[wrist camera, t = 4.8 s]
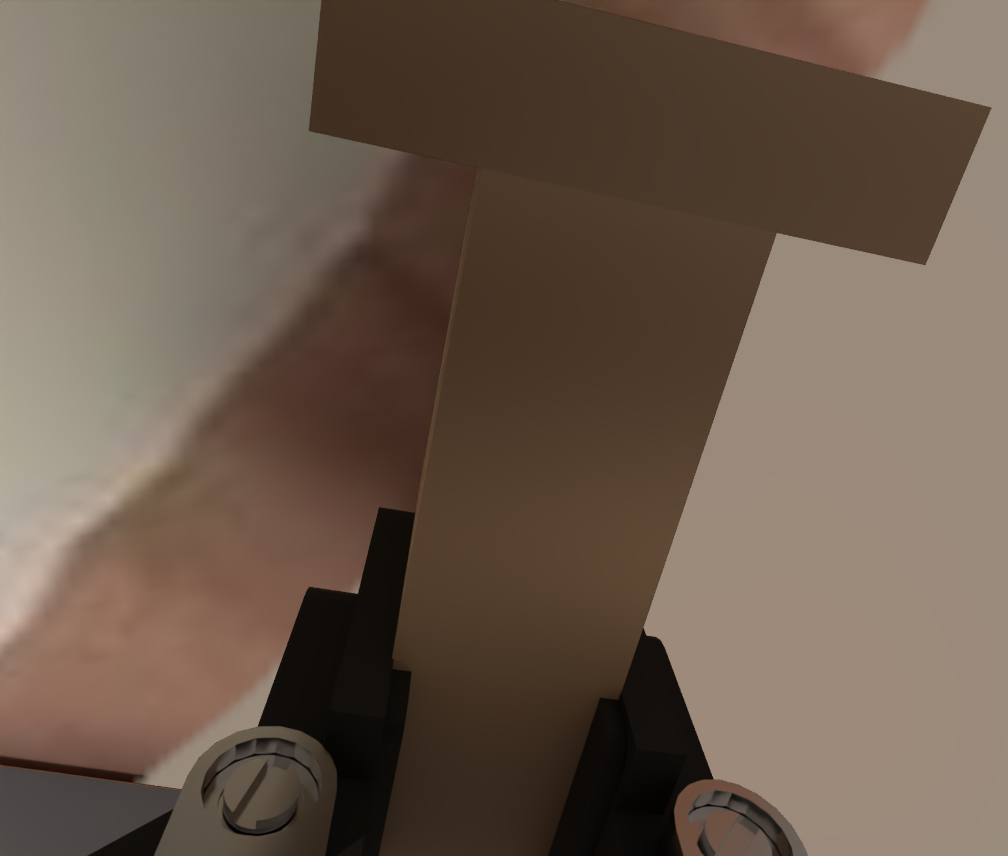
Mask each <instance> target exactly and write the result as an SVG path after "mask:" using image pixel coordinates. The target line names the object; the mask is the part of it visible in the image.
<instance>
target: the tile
mask: <svg viewBox="0 0 1008 856" xmlns="http://www.w3.org/2000/svg"><path fill="white" fill-rule="evenodd" d="M181 790H182V789H176V788H169V787H161V786H154V785H147V784H139V783H131V782H124V781H117V780H109V779H102V778H95V777H87V776H80V775H72V774H65V773H58V772H50V771H43V770H35V769H28V768H21V767H13V766H6V765H0V856H88V855H89V854H91V853H93V852H95V851H97V850H99V849H100V848H102V847H104V846H106V845H108V844H110V843H111V842H113V841H115V840H117V839H119V838H121V837H122V836H124V835H126V834H128V833H130V832H132V831H133V830H135V829H137V828H139V827H141V826H143V825H144V824H146V823H148V822H150V821H152V820H154V819H155V818H157V817H159V816H161V815H163V814H165V813H166V812H168V811H170V810H172V809H174V807H175V805H176V802H177V800H178V798H179V795H180V793H181Z"/></svg>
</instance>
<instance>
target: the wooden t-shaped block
mask: <svg viewBox="0 0 1008 856" xmlns="http://www.w3.org/2000/svg"><path fill="white" fill-rule="evenodd" d="M990 110H991V108H990V107H986V106H983V105H979V104H974V103H971V102H967V101H963V100H958V99H954V98H950V97H946V96H942V95H938V94H934V93H930V92H926V91H922V90H918V89H914V88H910V87H906V86H902V85H898V84H894V83H890V82H886V81H881V80H878V79H874V78H870V77H866V76H862V75H857V74H853V73H849V72H845V71H841V70H837V69H833V68H829V67H825V66H821V65H817V64H813V63H809V62H805V61H801V60H797V59H793V58H789V57H785V56H781V55H777V54H773V53H769V52H765V51H761V50H756V49H752V48H748V47H744V46H740V45H736V44H732V43H728V42H724V41H720V40H716V39H712V38H708V37H704V36H700V35H696V34H692V33H688V32H684V31H680V30H676V29H672V28H668V27H664V26H659V25H655V24H651V23H647V22H643V21H639V20H635V19H631V18H627V17H623V16H619V15H615V14H611V13H607V12H603V11H599V10H595V9H591V8H587V7H583V6H579V5H575V4H571V3H567V2H563V1H558V0H322V1H321V12H320V22H319V32H318V43H317V53H316V64H315V74H314V85H313V95H312V105H311V116H310V126H309V131H311V132H316V133H321V134H325V135H330V136H334V137H339V138H344V139H348V140H353V141H357V142H362V143H367V144H371V145H376V146H380V147H385V148H390V149H394V150H399V151H403V152H408V153H413V154H417V155H422V156H426V157H431V158H436V159H440V160H445V161H449V162H454V163H458V164H463V165H468V166H472V167H477V169H476V175H475V180H474V186H473V192H472V197H471V203H470V208H469V214H468V219H467V225H466V230H465V236H464V241H463V247H462V253H461V258H460V264H459V269H458V275H457V280H456V286H455V291H454V297H453V303H452V308H451V314H450V319H449V325H448V330H447V336H446V341H445V347H444V352H443V358H442V364H441V369H440V375H439V380H438V386H437V391H436V397H435V402H434V408H433V414H432V419H431V425H430V430H429V436H428V441H427V447H426V452H425V458H424V463H423V469H422V475H421V480H420V486H419V491H418V497H417V502H416V508H415V518H414V524H413V530H412V537H411V543H410V549H409V556H408V562H407V568H406V574H405V581H404V587H403V593H402V599H401V606H400V612H399V618H398V624H397V631H396V637H395V643H394V649H393V656H392V659H394V661H393V668H392V669H396V670H404V671H411V672H412V673H411V682H410V691H409V700H408V707H407V714H406V721H405V727H404V733H403V738H402V744H401V749H400V753H399V758H398V763H397V768H396V773H395V778H394V783H393V788H392V793H391V798H390V803H389V807H388V812H387V817H386V822H385V827H384V832H383V837H382V842H381V847H380V852H379V856H548V854H549V851H550V848H551V845H552V842H553V839H554V836H555V833H556V830H557V827H558V824H559V821H560V818H561V815H562V812H563V809H564V806H565V803H566V800H567V797H568V793H569V790H570V787H571V784H572V781H573V778H574V775H575V772H576V769H577V766H578V763H579V760H580V757H581V754H582V751H583V748H584V745H585V742H586V739H587V736H588V733H589V729H590V726H591V723H592V720H593V717H594V714H595V711H596V708H597V705H598V702H599V699H600V698H607V699H614V700H619V697H620V694H621V691H622V689H623V686H624V683H625V680H626V677H627V674H628V671H629V668H630V665H631V662H632V659H633V656H634V653H635V651H636V648H637V645H638V642H639V639H640V636H641V633H642V630H643V627H644V624H645V621H646V618H647V615H648V612H649V609H650V606H651V603H652V600H653V597H654V594H655V591H656V588H657V585H658V582H659V580H660V576H661V574H662V570H663V568H664V565H665V562H666V559H667V556H668V553H669V550H670V547H671V544H672V541H673V538H674V535H675V532H676V529H677V526H678V523H679V520H680V517H681V514H682V512H683V508H684V506H685V503H686V499H687V496H688V494H689V490H690V488H691V485H692V482H693V479H694V476H695V473H696V470H697V467H698V464H699V461H700V458H701V455H702V452H703V449H704V446H705V444H706V441H707V438H708V435H709V432H710V429H711V426H712V423H713V420H714V417H715V414H716V411H717V408H718V405H719V402H720V399H721V396H722V393H723V390H724V387H725V384H726V381H727V378H728V375H729V372H730V370H731V367H732V363H733V361H734V358H735V355H736V352H737V349H738V346H739V343H740V340H741V337H742V334H743V331H744V328H745V325H746V322H747V319H748V316H749V313H750V310H751V307H752V304H753V302H754V299H755V296H756V292H757V290H758V287H759V284H760V281H761V278H762V275H763V272H764V268H765V266H766V263H767V260H768V257H769V254H770V251H771V248H772V245H773V242H774V239H775V236H776V233H781V234H785V235H789V236H794V237H799V238H803V239H808V240H813V241H817V242H822V243H826V244H831V245H835V246H840V247H845V248H849V249H854V250H858V251H863V252H868V253H873V254H877V255H882V256H886V257H891V258H895V259H900V260H905V261H909V262H914V263H918V264H923V265H926V262H927V260H928V258H929V255H930V253H931V250H932V248H933V246H934V243H935V241H936V239H937V236H938V234H939V231H940V229H941V227H942V224H943V222H944V220H945V217H946V215H947V212H948V210H949V208H950V205H951V203H952V200H953V198H954V195H955V193H956V191H957V189H958V186H959V184H960V181H961V179H962V177H963V174H964V172H965V170H966V167H967V165H968V162H969V160H970V158H971V155H972V153H973V151H974V148H975V146H976V143H977V141H978V138H979V136H980V134H981V131H982V129H983V127H984V124H985V122H986V119H987V117H988V115H989V112H990Z"/></svg>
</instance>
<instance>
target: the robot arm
mask: <svg viewBox="0 0 1008 856" xmlns="http://www.w3.org/2000/svg"><path fill="white" fill-rule="evenodd" d="M414 518H415V513H412V512H406V511H399V510H393V509H387V508H381V507H379V510H378V514H377V518H376V522H375V526H374V530H373V535H372V539H371V543H370V547H369V551H368V555H367V559H366V563H365V567H364V571H363V575H362V579H361V584H360V588H359V592H358V594H355V593H348V592H341V591H334V590H327V589H320V588H314V587H309V588H308V589H307V591H306V594H305V596H304V599H303V602H302V604H301V607H300V610H299V613H298V616H297V618H296V621H295V624H294V627H293V630H292V632H291V635H290V638H289V641H288V643H287V646H286V649H285V652H284V655H283V657H282V660H281V663H280V666H279V669H278V671H277V674H276V677H275V680H274V683H273V685H272V688H271V691H270V694H269V696H268V699H267V703H266V705H265V708H264V710H263V713H262V716H261V719H260V722H259V725H258V727H255V728H250V729H247V730H242V731H238V732H235V733H234V734H231V735H230V736H228V737H226V738H224V739H222V740H220V741H218V742H216V743H215V744H214V745H213V746H211V747H210V748H209V749H208V750H207V751H206V752H205V753H203V754H202V755H201V756H200V757H199V758H198V760H197V762H196V763H195V765H194V766H193V768H192V770H191V771H190V773H189V775H188V776H187V778H186V781H185V784H184V786H183V788H182V790H181V793H180V795H179V798H178V800H177V802H176V805H175V807H174V809H172V810H170V811H168V812H166V813H165V814H163V815H161V816H159V817H157V818H155V819H154V820H152V821H150V822H148V823H146V824H144V825H143V826H141V827H139V828H137V829H135V830H133V831H132V832H130V833H128V834H126V835H124V836H122V837H121V838H119V839H117V840H115V841H113V842H111V843H110V844H108V845H106V846H104V847H102V848H100V849H99V850H97V851H95V852H93V853H91V854H89V855H88V856H379V852H380V847H381V842H382V837H383V832H384V827H385V822H386V817H387V812H388V807H389V803H390V798H391V793H392V788H393V783H394V778H395V773H396V768H397V763H398V758H399V753H400V749H401V744H402V738H403V733H404V727H405V721H406V714H407V707H408V700H409V691H410V682H411V673H412V672H411V671H404V670H396V669H392V668H393V661H394V659H392V656H393V649H394V643H395V637H396V631H397V624H398V618H399V612H400V606H401V599H402V593H403V587H404V581H405V574H406V568H407V562H408V556H409V549H410V543H411V537H412V530H413V524H414ZM548 856H808V855H807V852H806V850H805V847H804V845H803V843H802V842H801V840H800V838H799V837H798V835H797V833H796V832H795V830H794V828H793V827H792V825H791V824H790V823H789V822H788V821H787V820H786V818H785V817H784V816H783V815H782V814H781V813H780V812H779V811H778V810H777V809H776V808H775V807H774V806H772V805H771V804H770V803H768V802H767V801H766V800H765V799H763V798H762V797H761V796H759V795H758V794H756V793H754V792H752V791H750V790H748V789H746V788H744V787H742V786H740V785H738V784H734V783H730V782H727V781H723V780H714V779H713V776H712V774H711V771H710V768H709V766H708V763H707V760H706V758H705V755H704V752H703V750H702V747H701V744H700V741H699V739H698V736H697V734H696V731H695V728H694V725H693V723H692V720H691V717H690V715H689V712H688V709H687V707H686V704H685V701H684V698H683V696H682V693H681V691H680V688H679V685H678V682H677V680H676V677H675V674H674V672H673V669H672V666H671V663H670V661H669V658H668V655H667V653H666V650H665V647H664V646H663V644H662V642H661V641H660V640H659V639H658V638H657V637H652V636H646V634H645V631H644V628H643V630H642V633H641V636H640V639H639V642H638V645H637V648H636V651H635V653H634V656H633V659H632V662H631V665H630V668H629V671H628V674H627V677H626V680H625V683H624V686H623V689H622V691H621V694H620V697H619V700H614V699H607V698H600V699H599V702H598V705H597V708H596V711H595V714H594V717H593V720H592V723H591V726H590V729H589V733H588V736H587V739H586V742H585V745H584V748H583V751H582V754H581V757H580V760H579V763H578V766H577V769H576V772H575V775H574V778H573V781H572V784H571V787H570V790H569V793H568V797H567V800H566V803H565V806H564V809H563V812H562V815H561V818H560V821H559V824H558V827H557V830H556V833H555V836H554V839H553V842H552V845H551V848H550V851H549V854H548Z"/></svg>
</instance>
